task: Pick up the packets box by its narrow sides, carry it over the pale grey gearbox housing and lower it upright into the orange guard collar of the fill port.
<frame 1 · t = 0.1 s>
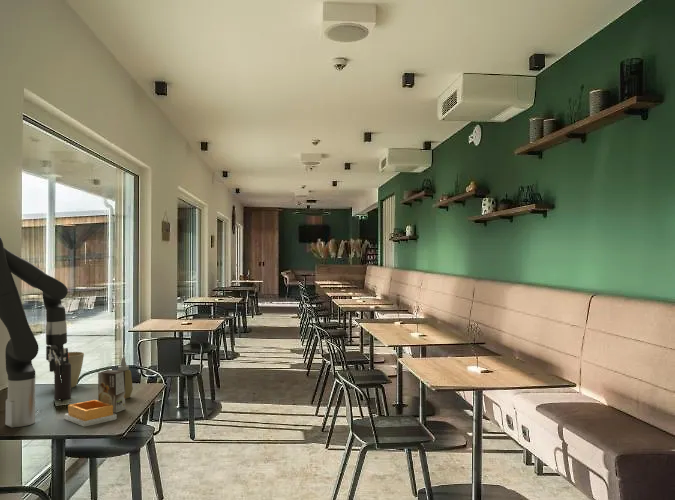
hand: (57, 372, 229), 17 cm above the table, tool pointing down, fingers open, 8 cm apart
plant pot: (67, 387, 282), on the table
vinegar: (62, 398, 258), on the table
coffee box: (111, 410, 238), on the table
gearbox housing: (90, 419, 225), on the table
squeeze bottle: (123, 398, 259), on the table
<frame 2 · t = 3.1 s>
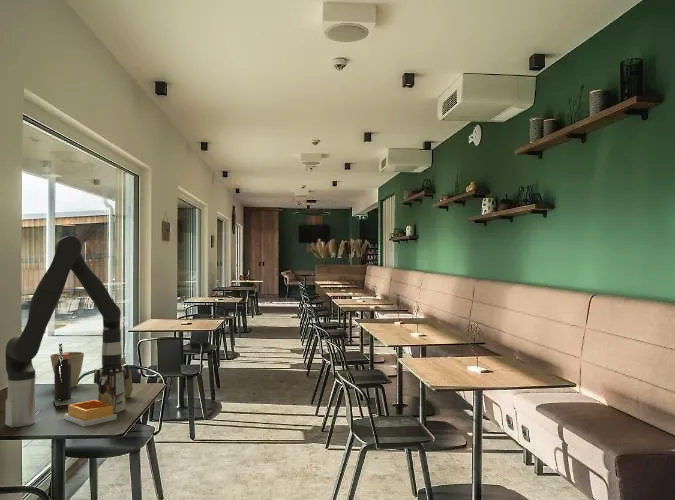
hand: (111, 391, 238), 8 cm above the table, tool pointing down, fingers open, 8 cm apart
nothing on the table moved.
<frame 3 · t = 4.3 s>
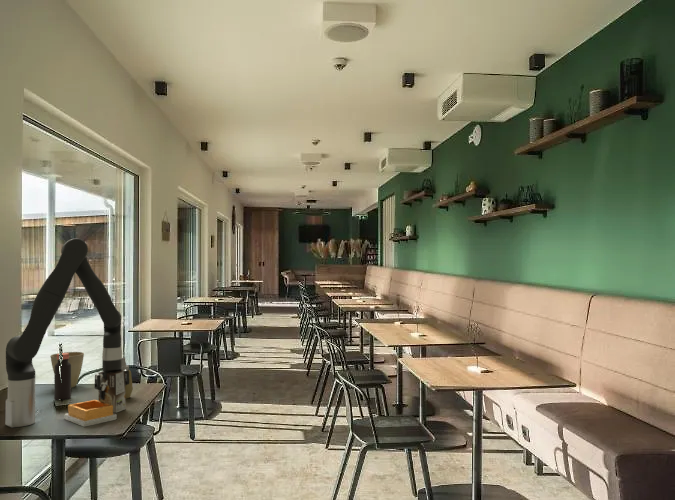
hand: (112, 397, 238), 5 cm above the table, tool pointing down, fingers closed on coffee box, 8 cm apart
coffee box: (112, 410, 238), on the table, touching gripper
everything else where it was.
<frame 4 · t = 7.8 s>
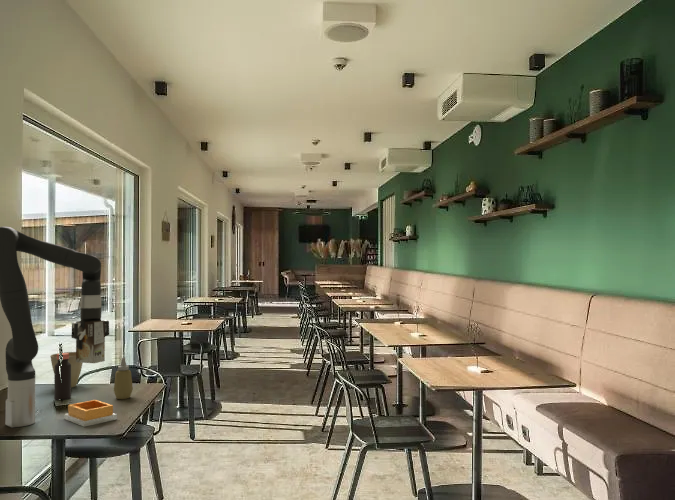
hand: (90, 348, 225), 28 cm above the table, tool pointing down, fingers closed on coffee box, 8 cm apart
coffee box: (90, 362, 225), point 22 cm above the table, touching gripper
everything else where it was.
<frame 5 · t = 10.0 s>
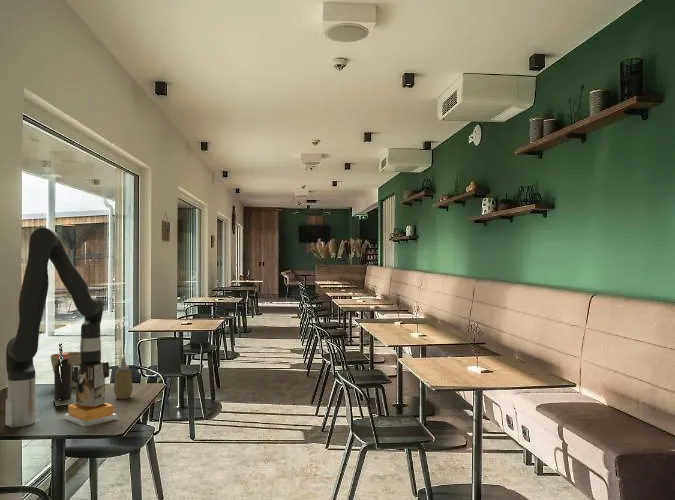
hand: (90, 390, 225), 11 cm above the table, tool pointing down, fingers closed on coffee box, 8 cm apart
coffee box: (90, 404, 225), point 6 cm above the table, touching gripper
everything else where it was.
when the fingers open (9 cm above the table, at t = 11.5 s): coffee box drops 3 cm, resting on gearbox housing.
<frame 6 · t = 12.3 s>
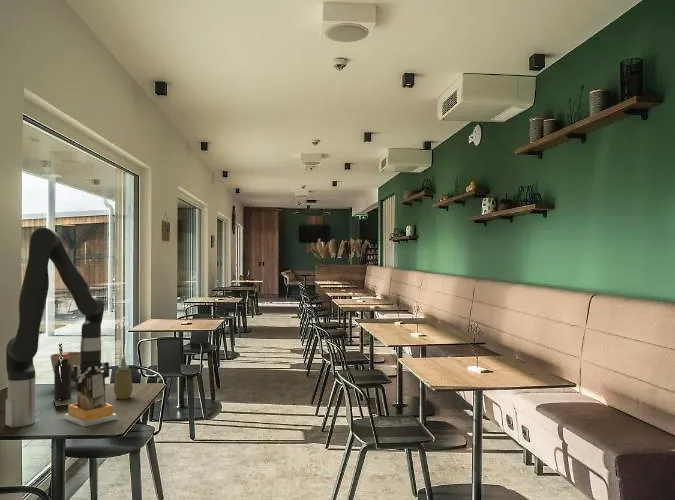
hand: (90, 390, 225), 11 cm above the table, tool pointing down, fingers open, 8 cm apart
coffee box: (91, 414, 225), point 2 cm above the table, touching gearbox housing
everything else where it was.
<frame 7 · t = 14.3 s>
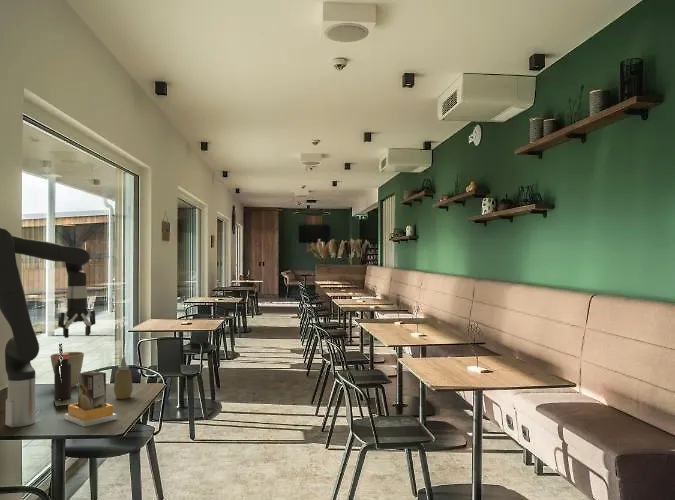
hand: (77, 336, 235), 31 cm above the table, tool pointing down, fingers open, 8 cm apart
nothing on the table moved.
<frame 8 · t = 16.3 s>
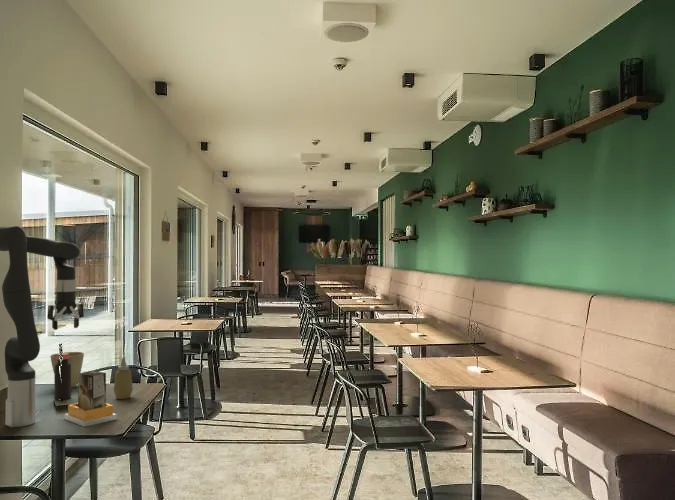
hand: (65, 328, 244), 33 cm above the table, tool pointing down, fingers open, 8 cm apart
nothing on the table moved.
at the end: coffee box inside the target area on the gearbox housing (0.6 cm from its centre), point 1.8 cm above the gearbox housing's base; coffee box tilted 0°; the gripper is holding nothing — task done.
